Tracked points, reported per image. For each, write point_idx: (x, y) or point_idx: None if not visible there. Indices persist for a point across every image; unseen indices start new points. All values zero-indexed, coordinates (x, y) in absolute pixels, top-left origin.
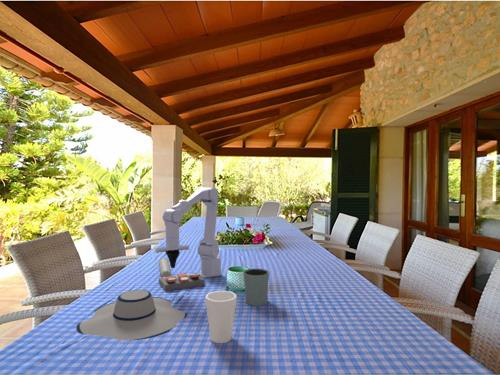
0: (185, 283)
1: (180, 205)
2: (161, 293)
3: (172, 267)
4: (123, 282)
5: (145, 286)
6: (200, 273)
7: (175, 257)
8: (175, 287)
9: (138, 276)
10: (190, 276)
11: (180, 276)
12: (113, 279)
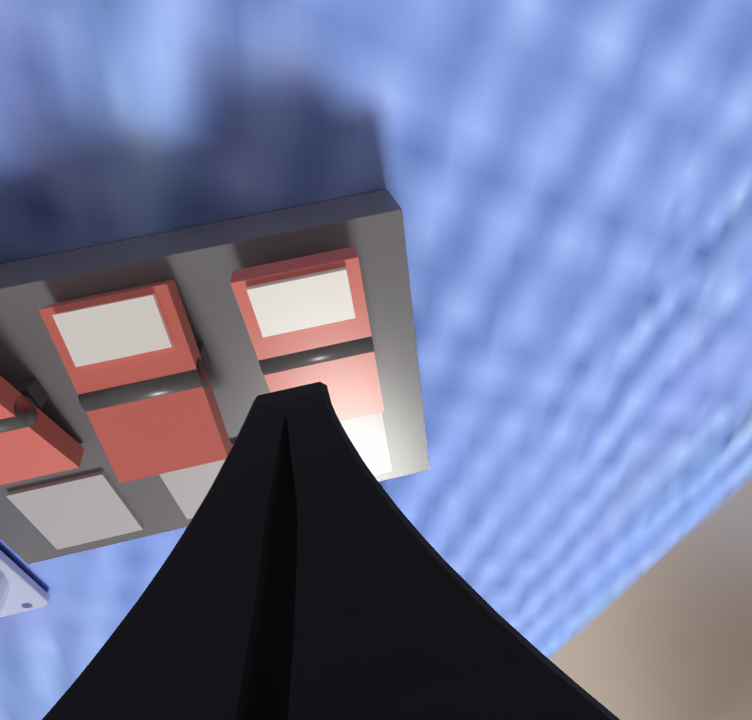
0: (109, 262)
1: None
2: (438, 102)
3: (308, 390)
4: (647, 479)
5: (538, 376)
6: (23, 595)
7: (191, 645)
8: (256, 222)
9: (524, 567)
10: (45, 425)
11: (182, 395)
12: (675, 531)
